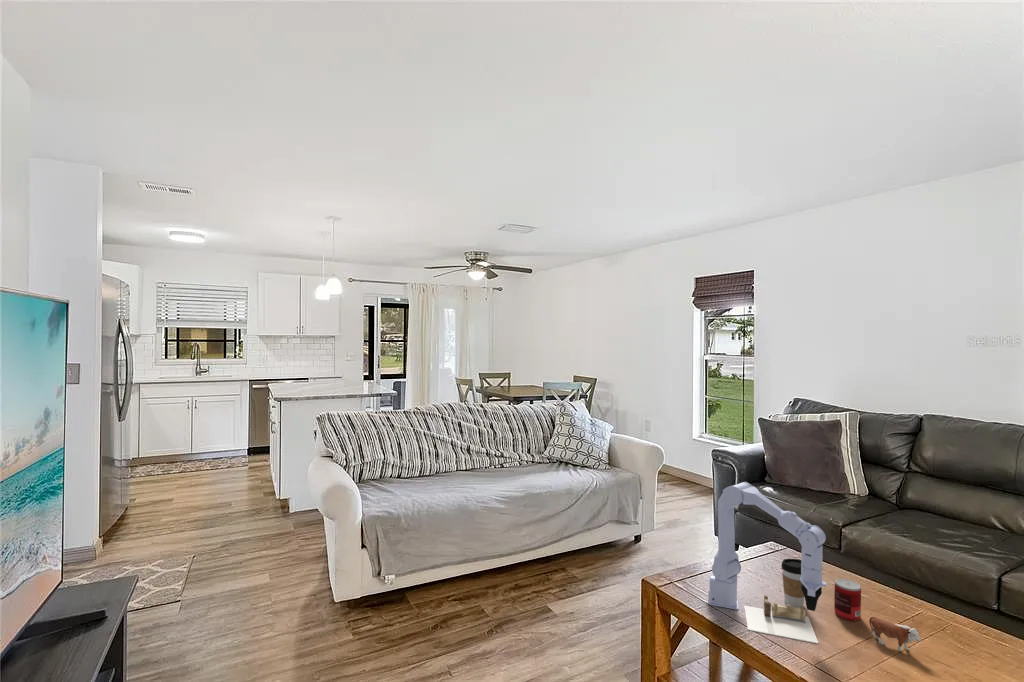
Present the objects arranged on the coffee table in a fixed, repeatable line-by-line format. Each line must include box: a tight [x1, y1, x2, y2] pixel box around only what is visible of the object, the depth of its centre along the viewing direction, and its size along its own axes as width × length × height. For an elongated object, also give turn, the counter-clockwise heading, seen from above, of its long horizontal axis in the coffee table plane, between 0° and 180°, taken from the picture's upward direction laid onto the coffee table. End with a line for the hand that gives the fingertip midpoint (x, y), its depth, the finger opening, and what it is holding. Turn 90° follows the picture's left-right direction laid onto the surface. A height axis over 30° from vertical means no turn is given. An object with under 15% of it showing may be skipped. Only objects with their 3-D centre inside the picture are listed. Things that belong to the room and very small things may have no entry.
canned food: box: [833, 578, 862, 622], centre depth 176 cm, size 8×8×11 cm
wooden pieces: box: [763, 594, 772, 617], centre depth 177 cm, size 2×6×5 cm, turn 159°
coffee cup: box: [780, 558, 805, 608], centre depth 184 cm, size 8×8×15 cm
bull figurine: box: [868, 616, 922, 652], centre depth 158 cm, size 4×13×8 cm, turn 36°
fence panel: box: [771, 602, 806, 620], centre depth 173 cm, size 10×1×4 cm, turn 75°
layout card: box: [743, 605, 819, 645], centre depth 170 cm, size 20×16×1 cm
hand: (810, 609), depth 161 cm, fingers closed
